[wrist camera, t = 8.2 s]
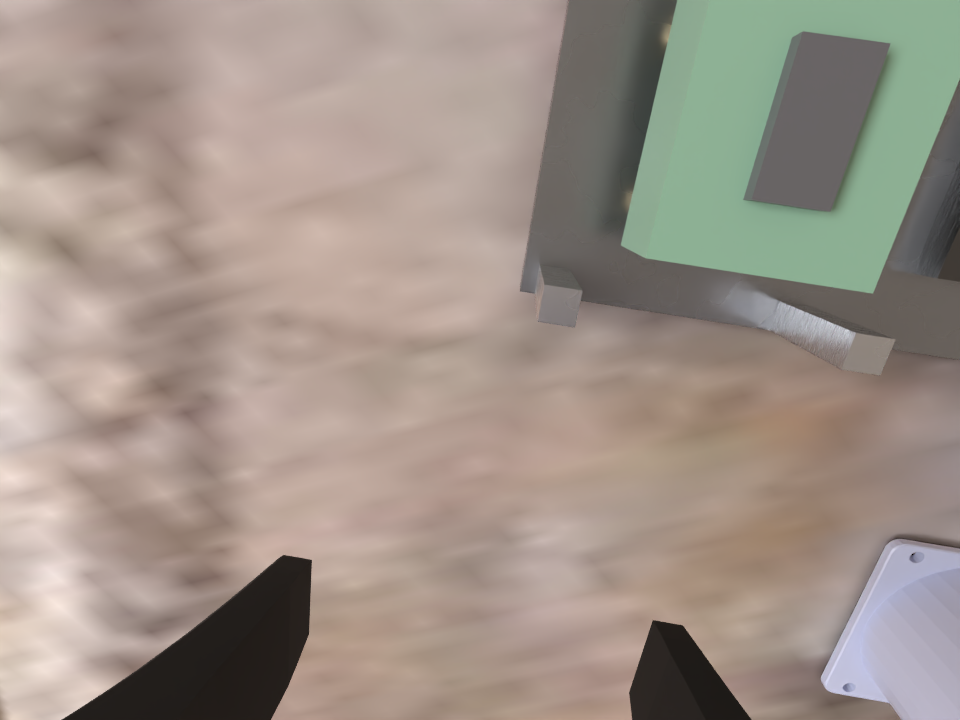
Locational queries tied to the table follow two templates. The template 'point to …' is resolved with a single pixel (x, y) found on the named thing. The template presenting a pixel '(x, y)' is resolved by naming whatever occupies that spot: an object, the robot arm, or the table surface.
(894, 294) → the chassis
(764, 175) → the green block
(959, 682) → the robot arm
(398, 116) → the table surface
